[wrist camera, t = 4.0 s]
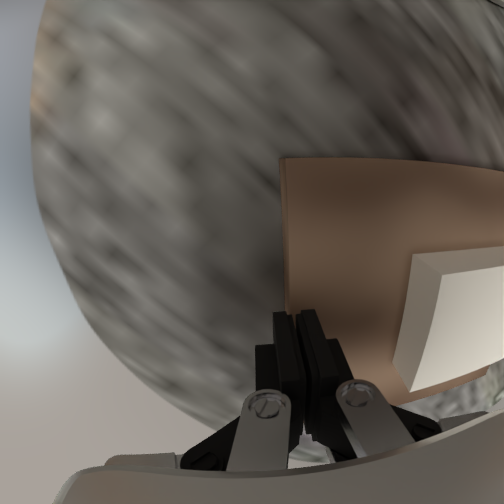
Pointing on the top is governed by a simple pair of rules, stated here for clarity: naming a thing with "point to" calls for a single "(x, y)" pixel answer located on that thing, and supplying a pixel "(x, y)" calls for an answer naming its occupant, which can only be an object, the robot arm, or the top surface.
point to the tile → (451, 316)
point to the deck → (377, 247)
